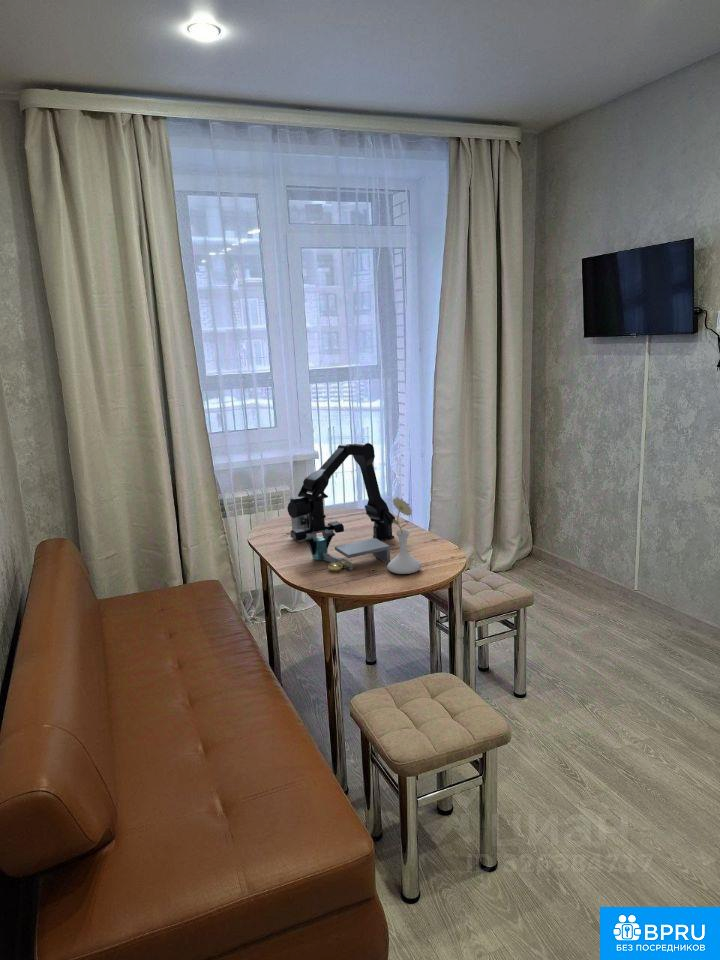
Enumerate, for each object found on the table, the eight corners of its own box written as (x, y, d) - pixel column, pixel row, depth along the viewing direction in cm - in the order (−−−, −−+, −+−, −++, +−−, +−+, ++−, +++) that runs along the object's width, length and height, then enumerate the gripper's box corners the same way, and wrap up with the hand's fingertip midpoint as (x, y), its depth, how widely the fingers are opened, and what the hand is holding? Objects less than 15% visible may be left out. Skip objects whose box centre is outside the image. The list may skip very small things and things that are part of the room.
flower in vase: (426, 574, 218) (424, 500, 212) (394, 579, 215) (390, 505, 209) (412, 561, 230) (409, 492, 224) (381, 566, 227) (377, 496, 221)
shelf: (375, 554, 240) (374, 538, 238) (390, 562, 230) (389, 545, 229) (335, 563, 233) (334, 546, 232) (349, 572, 223) (348, 554, 222)
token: (337, 566, 229) (337, 561, 229) (345, 570, 225) (345, 564, 225) (325, 570, 227) (325, 564, 226) (333, 574, 223) (333, 568, 222)
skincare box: (298, 542, 259) (295, 503, 255) (291, 538, 265) (288, 500, 261) (318, 538, 262) (315, 500, 259) (311, 534, 269) (308, 496, 265)
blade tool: (321, 555, 241) (319, 537, 239) (355, 567, 225) (353, 548, 223) (312, 558, 239) (310, 540, 237) (346, 571, 223) (344, 551, 221)
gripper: (330, 503, 246) (333, 543, 249) (283, 511, 238) (286, 552, 241) (343, 509, 236) (346, 550, 239) (294, 518, 228) (298, 560, 231)
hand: (319, 553), depth 238 cm, fingers closed on blade tool, 4 cm apart
